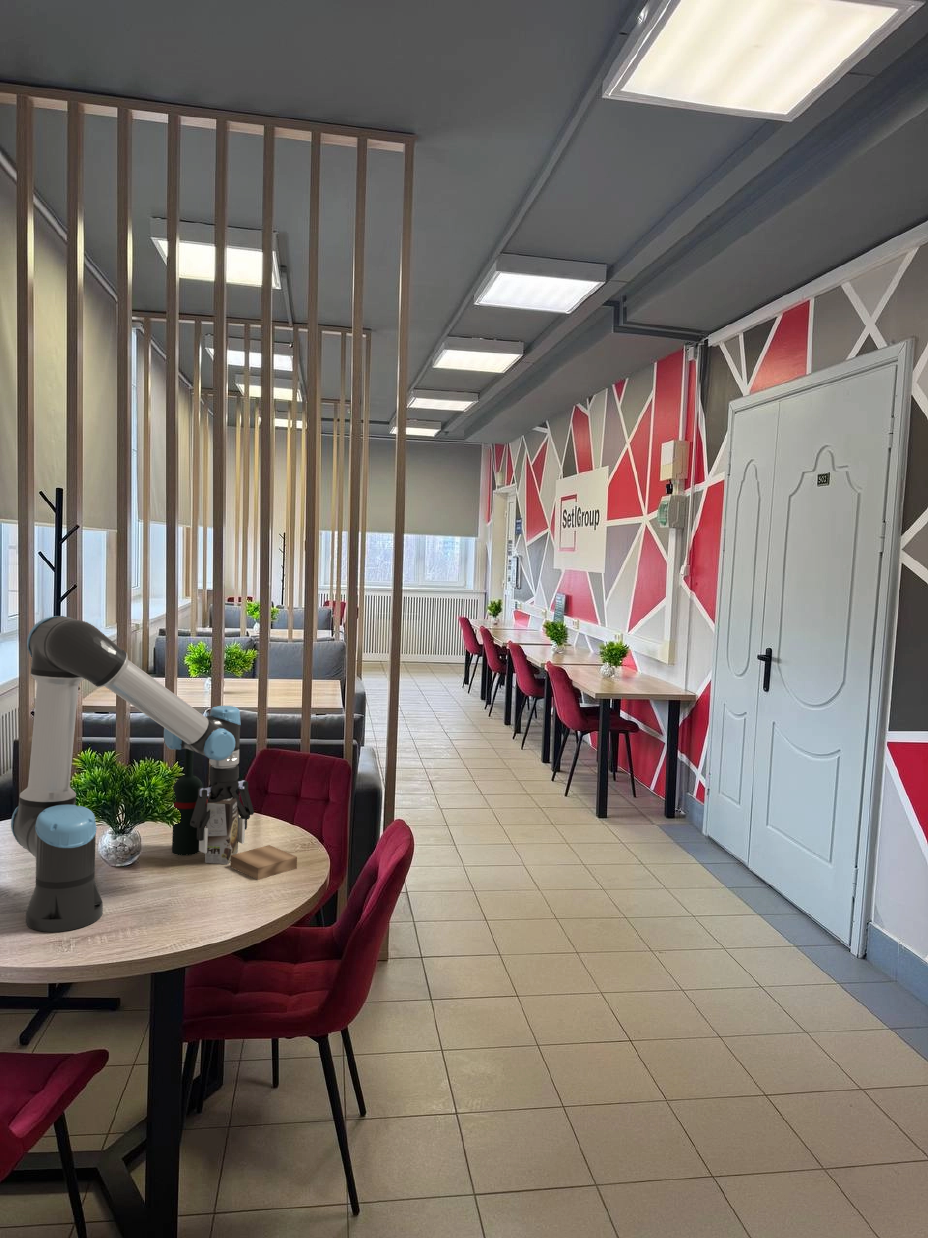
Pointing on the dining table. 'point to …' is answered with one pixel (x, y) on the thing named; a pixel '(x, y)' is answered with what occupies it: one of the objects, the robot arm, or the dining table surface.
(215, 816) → the coffee box
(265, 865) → the block
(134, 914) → the dining table surface
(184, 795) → the wine bottle
